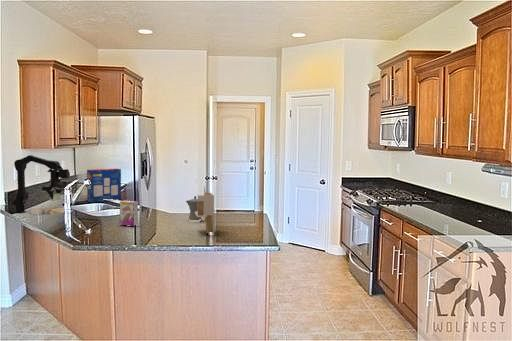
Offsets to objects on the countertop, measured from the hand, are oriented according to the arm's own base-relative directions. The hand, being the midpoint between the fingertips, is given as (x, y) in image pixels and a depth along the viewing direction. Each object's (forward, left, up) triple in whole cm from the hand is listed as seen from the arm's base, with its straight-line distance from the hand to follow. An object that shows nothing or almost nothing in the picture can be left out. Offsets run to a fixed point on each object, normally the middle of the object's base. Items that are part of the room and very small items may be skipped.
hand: (55, 198), depth 318 cm
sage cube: (0, 0, -1) cm, 1 cm away
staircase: (+130, -6, -12) cm, 131 cm away
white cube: (-10, -8, -11) cm, 17 cm away
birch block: (0, 0, -11) cm, 11 cm away
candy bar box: (+76, -11, -11) cm, 78 cm away
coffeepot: (+108, +23, -11) cm, 111 cm away
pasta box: (-12, +67, -11) cm, 69 cm away
